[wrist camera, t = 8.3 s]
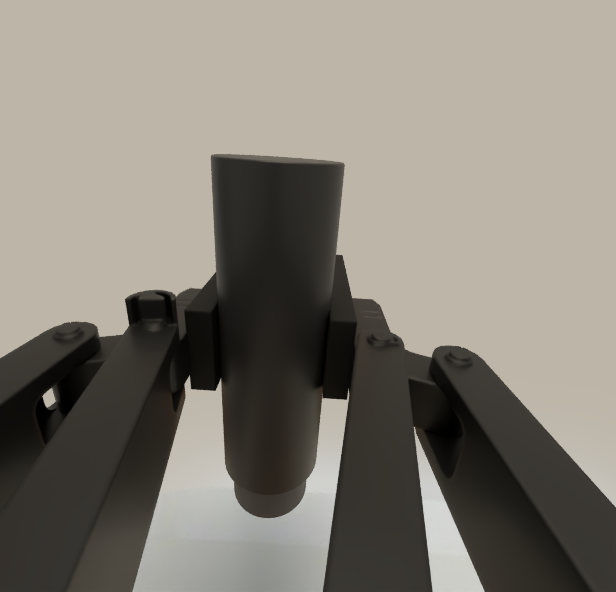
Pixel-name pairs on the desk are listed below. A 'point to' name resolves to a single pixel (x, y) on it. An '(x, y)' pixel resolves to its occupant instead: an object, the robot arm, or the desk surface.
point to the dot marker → (273, 317)
